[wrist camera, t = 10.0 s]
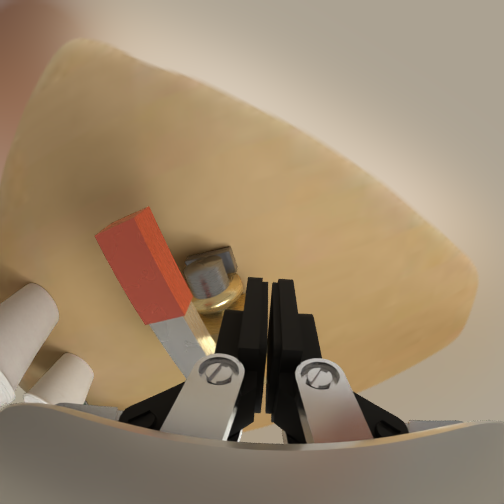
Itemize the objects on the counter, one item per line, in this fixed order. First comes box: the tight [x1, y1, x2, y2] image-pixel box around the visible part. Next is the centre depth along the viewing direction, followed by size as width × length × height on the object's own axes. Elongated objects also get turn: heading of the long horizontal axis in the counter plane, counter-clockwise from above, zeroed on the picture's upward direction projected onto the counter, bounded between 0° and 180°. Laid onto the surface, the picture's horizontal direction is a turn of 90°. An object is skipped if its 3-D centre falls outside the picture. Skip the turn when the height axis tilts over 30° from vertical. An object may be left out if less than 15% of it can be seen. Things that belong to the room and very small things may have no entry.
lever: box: [95, 206, 216, 380], centre depth 17 cm, size 4×15×2 cm, turn 20°
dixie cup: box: [23, 353, 94, 405], centre depth 30 cm, size 8×8×10 cm
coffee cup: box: [0, 283, 59, 407], centre depth 23 cm, size 10×10×15 cm
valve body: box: [184, 246, 267, 384], centre depth 24 cm, size 13×6×8 cm, turn 16°
